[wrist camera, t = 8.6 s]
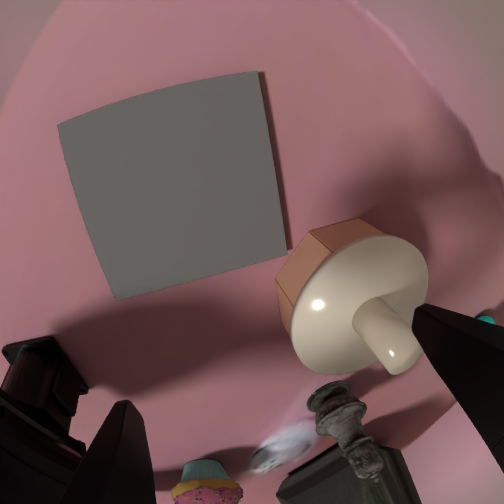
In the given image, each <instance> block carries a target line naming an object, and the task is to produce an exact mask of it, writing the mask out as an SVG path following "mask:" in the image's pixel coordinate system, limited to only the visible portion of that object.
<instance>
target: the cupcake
mask: <svg viewBox="0 0 504 504" xmlns="http://www.w3.org/2000/svg"><path fill="white" fill-rule="evenodd" d="M243 493H244V492H243V489H242V488H241V487H240V485H239V483H236V482H235V481H233V480H231V479H230V477H229V476H228V475H227V474H226V472H225V471H224V469H223V468H222V466H221V464H220V463H219V462H217V461H215V460H210V459H200V460H194V461H191V462H189V463H187V464H186V465H185V466H184V469H183V474H182V478H181V481H180V483H178V484H177V485H176V486H175V487H173V488H172V491H171V494H172V498H173V500H174V501H175V504H238V502H241V500H240V499H241V498H243Z"/></svg>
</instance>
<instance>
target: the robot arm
mask: <svg viewBox="0 0 504 504" xmlns="http://www.w3.org/2000/svg"><path fill="white" fill-rule="evenodd" d="M411 329H412V332H413V334H414V336H415V338H416V339H417V341H418V343H419V344H420V346H421V347H422V349H423V351H424V352H425V354H426V356H427V358H428V359H429V361H430V363H431V364H432V366H433V367H434V369H435V370H436V372H437V373H438V374H439V376H440V377H441V379H442V380H443V381H444V383H445V384H446V385H447V387H448V388H449V390H450V391H451V392H452V394H453V395H454V397H455V398H456V400H457V401H458V402H459V404H460V405H461V407H462V408H463V410H464V411H465V413H466V414H467V416H468V417H469V418H470V420H471V422H472V423H473V425H474V426H475V427H476V429H477V431H478V432H479V434H480V435H481V437H482V438H483V440H484V441H485V443H486V445H487V446H488V448H489V449H490V450H491V453H492V455H493V456H494V458H495V459H496V461H497V463H498V464H499V466H500V467H501V470H502V471H503V473H504V327H502V326H499V325H495V324H492V323H489V322H486V321H482V320H479V319H476V318H473V317H469V316H466V315H463V314H460V313H456V312H453V311H450V310H447V309H443V308H440V307H437V306H434V305H430V304H427V303H425V304H422V305H420V306H418V307H416V308H415V310H414V314H413V320H412V325H411ZM49 342H50V343H49ZM51 343H52V344H51ZM2 354H3V355H4V357H5V358H6V359H7V361H8V362H9V364H10V367H9V369H8V371H7V373H6V376H5V378H4V380H3V383H2V385H1V387H0V504H156V496H155V488H154V478H153V469H152V462H151V457H150V452H149V447H148V442H147V437H146V431H145V425H144V420H143V418H142V416H141V414H140V413H139V411H138V410H137V409H136V407H135V406H134V405H133V403H132V402H131V401H130V400H122V401H117V402H116V403H115V404H114V406H113V407H112V409H111V411H110V412H109V414H108V416H107V417H106V419H105V421H104V422H103V424H102V426H101V428H100V429H99V431H98V433H97V434H96V436H95V438H94V440H93V441H92V443H91V445H90V447H89V448H88V450H87V452H86V446H85V443H83V442H82V441H80V440H76V439H74V438H73V437H71V436H69V429H70V423H71V418H72V417H74V416H75V414H76V409H77V404H78V399H79V395H84V394H87V393H88V390H89V388H88V386H87V385H86V384H85V382H84V381H83V379H82V378H81V377H80V375H79V374H78V372H77V371H76V370H75V368H74V367H73V365H72V364H71V362H70V361H69V360H68V358H67V357H66V355H65V354H64V352H63V351H62V349H61V348H60V346H59V344H58V343H57V341H56V340H55V339H54V338H53V337H45V338H40V339H36V340H31V341H27V342H22V343H17V344H12V345H7V346H4V347H3V349H2Z"/></svg>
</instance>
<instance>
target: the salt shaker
mask: <svg viewBox="0 0 504 504" xmlns="http://www.w3.org/2000/svg"><path fill="white" fill-rule="evenodd" d="M350 389H351V388H350V385H349V384H348V382H345V381H335V382H331V383H328V384H326V385H324V386H322V387H321V388H319V389H318V390H316V391H315V392H314V393H313V394H312V395H311V396H310V398H309V399H308V401H307V408H308V410H309V411H311V412H314V413H316V433H317V434H318V435H320V436H324V437H327V436H333V437H334V438H335V439H336V440H337V442H338V444H339V446H340V448H341V449H342V453H341V456H342V457H344V458H347V459H348V461H349V463H350V464H351V466H352V468H353V470H354V472H355V474H356V475H357V477H359V478H361V479H367V478H373V479H374V480H373V481H375V482H377V483H378V482H379V478H380V477H377V475H378V474H379V472H380V471H381V469H382V468H383V464H384V463H383V460H382V458H381V457H380V455H379V453H378V452H377V450H376V448H375V447H374V445H373V444H372V443H373V441H374V438H373V437H372V436H368V434H367V432H366V431H365V429H364V428H363V426H362V423H361V419H362V418H363V416H364V415H365V413H366V410H367V405H366V404H365V403H364V402H361V401H359V399H357V398H356V397H354V396H352V395H348V394H349V393H350Z"/></svg>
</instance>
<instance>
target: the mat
mask: <svg viewBox="0 0 504 504" xmlns="http://www.w3.org/2000/svg"><path fill="white" fill-rule="evenodd" d="M57 128H58V132H59V137H60V141H61V145H62V149H63V153H64V157H65V161H66V165H67V168H68V172H69V176H70V179H71V183H72V186H73V189H74V193H75V196H76V199H77V202H78V205H79V208H80V211H81V214H82V217H83V220H84V223H85V226H86V229H87V231H88V234H89V237H90V239H91V242H92V245H93V247H94V250H95V252H96V255H97V258H98V260H99V263H100V265H101V267H102V270H103V272H104V275H105V277H106V279H107V282H108V284H109V286H110V288H111V291H112V293H113V295H114V297H115V299H116V301H120V300H123V299H127V298H131V297H135V296H139V295H142V294H146V293H150V292H154V291H157V290H161V289H165V288H169V287H172V286H176V285H180V284H183V283H187V282H191V281H195V280H198V279H202V278H206V277H209V276H213V275H217V274H220V273H224V272H227V271H231V270H235V269H238V268H242V267H246V266H249V265H253V264H256V263H260V262H264V261H267V260H271V259H274V258H278V257H281V256H285V255H288V254H287V247H286V240H285V233H284V226H283V219H282V212H281V206H280V199H279V193H278V186H277V180H276V174H275V168H274V162H273V156H272V150H271V144H270V138H269V132H268V126H267V121H266V115H265V110H264V104H263V99H262V93H261V88H260V83H259V78H258V73H257V71H252V72H244V73H237V74H231V75H225V76H219V77H213V78H208V79H203V80H198V81H193V82H188V83H184V84H179V85H175V86H171V87H167V88H163V89H159V90H155V91H152V92H148V93H144V94H141V95H138V96H134V97H131V98H128V99H125V100H121V101H118V102H115V103H112V104H109V105H106V106H104V107H101V108H98V109H95V110H92V111H90V112H87V113H85V114H82V115H79V116H77V117H74V118H72V119H70V120H67V121H65V122H62V123H60V124H58V125H57Z"/></svg>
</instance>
